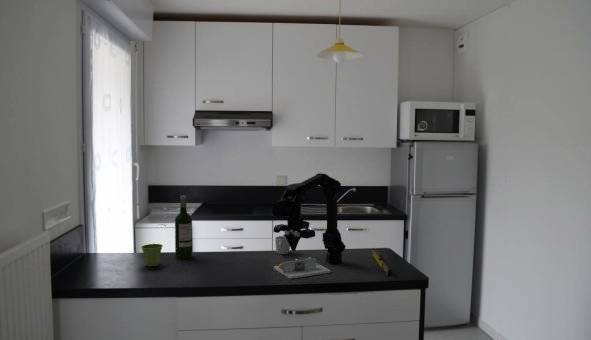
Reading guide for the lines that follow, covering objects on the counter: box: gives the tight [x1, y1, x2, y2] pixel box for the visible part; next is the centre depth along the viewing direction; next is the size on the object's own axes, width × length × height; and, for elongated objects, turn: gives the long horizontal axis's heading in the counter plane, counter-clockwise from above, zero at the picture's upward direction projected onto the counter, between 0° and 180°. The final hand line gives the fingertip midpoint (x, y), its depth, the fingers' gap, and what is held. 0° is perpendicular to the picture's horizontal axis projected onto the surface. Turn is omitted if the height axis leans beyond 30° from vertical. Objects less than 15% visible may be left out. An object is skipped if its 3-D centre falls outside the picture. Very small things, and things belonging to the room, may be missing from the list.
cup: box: [274, 235, 291, 255], centre depth 215 cm, size 11×8×8 cm
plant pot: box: [140, 243, 163, 267], centre depth 194 cm, size 9×9×9 cm
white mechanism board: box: [273, 256, 331, 280], centre depth 189 cm, size 20×16×4 cm
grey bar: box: [278, 257, 317, 271], centre depth 186 cm, size 5×18×4 cm, turn 113°
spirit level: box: [371, 249, 392, 277], centre depth 199 cm, size 33×1×3 cm, turn 1°
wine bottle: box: [174, 195, 193, 260], centre depth 207 cm, size 8×8×30 cm
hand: (293, 251), depth 180 cm, fingers closed
